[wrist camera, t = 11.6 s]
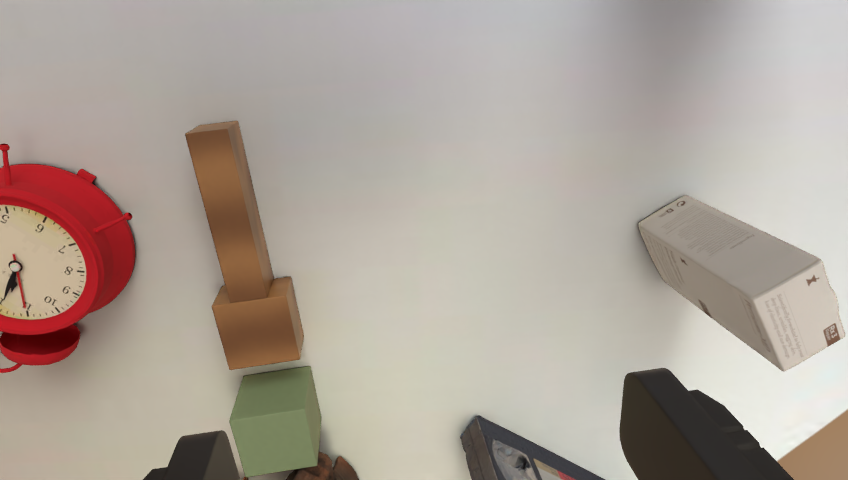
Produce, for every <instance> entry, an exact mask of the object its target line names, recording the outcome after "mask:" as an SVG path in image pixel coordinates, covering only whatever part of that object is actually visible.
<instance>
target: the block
mask: <svg viewBox="0 0 848 480" xmlns="http://www.w3.org/2000/svg"><path fill="white" fill-rule="evenodd" d="M229 422H230V425H231V429H232V432H233V436H234V439H235V442H236V446H237V449H238V453H239V456H240V459H241V463H242V466H243V470H244V473H245V477H251V476H257V475H263V474H270V473H276V472H282V471H288V470H294V469H300V468H306V467H312V466H317V463H318V451H319V440H320V429H321V414H320V409H319V404H318V400H317V395H316V390H315V385H314V380H313V376H312V371H311V367H310V366H307V367H300V368H294V369H287V370H280V371H274V372H267V373H260V374H253V375H247V376H244V377H243V380H242V383H241V386H240V389H239V392H238V395H237V398H236V402H235V405H234V408H233V411H232V414H231V417H230V420H229Z"/></svg>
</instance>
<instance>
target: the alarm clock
mask: <svg viewBox="0 0 848 480" xmlns="http://www.w3.org/2000/svg"><path fill="white" fill-rule="evenodd" d="M0 150H2V151H3V162H4V166H3V168H0V331H2V332H3V333H2V335H1V337H0V349H1V352H2V354H3V355H5V356H6V357H7V358H8V359H9V360H11V361H13V362H16V363H18V364H16V365H15V366H13V367H11V368H6V369H0V373H5V372H11V371H14V370H16V369H18V368H19V367H20V366H21V365H22V364H24V365H49V364H52V363H55V362H59V361H61V360H63V359H65V358H66V357H68V356H69V355H70V354H71V353H72V352H73V351H74V350H75V349H76V347H77V345H78V342H79V339H80V331H79V329H78V328H77V326H75V325H73V324H74V323H76V322H78V321H79V320H81V319H82V318H83V317H85V316H86V315H87V314H88V313H91V312H94V311H96V310H98V309H100V308H102V307H104V306H105V305H107V304H108V303H110V302H111V301H112V300H113V299H115V298H116V297H117V295H118V294H119V293H120V292H121V291H122V290H123V289H124V287H125V286H126V284H127V283H128V281H129V279H130V277H131V274H132V272H133V268H134V263H135V245H134V240H133V235H132V233H131V230H130V227H129V225H128V223H127V221H126V220H130V219H131V218H132V215H131V214H130V213H125V214H124V215H123V214H122V212H121V211H120V209H119V208H118V207H117V206H116V204H115V203H114V202H113V201H112V200H111V199H110V198H109V197H108V196H107V195H106V194H105V193H104V192H103V191H101V190H100V189H99V188H98V187H96V186H95V185H94V184H92V182H93V180H94V179H95V178H96V176H94V175H92V174H90V173H88V172H87V171H85V170H83V169H80V170H79V171H78V173H77V175H76V174H73V173H71V172H68V171H66V170H63V169H60V168H56V167H52V166H47V165H39V164H18V165H11V166H9V162H8V153H7V150H9V146H8V144H0Z"/></svg>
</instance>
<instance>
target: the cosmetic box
mask: <svg viewBox="0 0 848 480" xmlns="http://www.w3.org/2000/svg"><path fill="white" fill-rule="evenodd" d="M639 230H640V233H641V235H642V238H643V240H644V242H645V245H646V247H647V249H648V252H649V254H650V256H651V258H652V260H653V262H654V264H655V266H656V268H657V270H658V272H659V274H660V275H661V277H662V279H663V280H664V281H665V283H667V284H668V285H669V286H671V287H672V288H673V289H675V290H676V291H677V292H678V293H680V294H681V295H682V296H683V297H685V298H686V299H688V300H689V301H690V302H692V303H693V304H694V305H695V306H697V307H698V308H699V309H701V310H702V311H703V312H705V313H706V314H707V315H709V316H710V317H711V318H712V319H714V320H715V321H717V322H718V323H719V324H720V325H722V326H723V327H724V328H726V329H727V330H728V331H730V332H731V333H732V334H734V335H735V336H736V337H738V338H739V339H740V340H742V341H743V342H744V343H746V344H747V345H748V346H750V347H751V348H752V349H754V350H755V351H757V352H758V353H759V354H761V355H762V356H763V357H765V358H766V359H767V360H769V361H770V362H771V363H772V364H774V365H775V366H776V367H778V368H779V369H780V370H781V371H786V370H788V369H790V368H792V367H794V366H796V365H798V364H799V363H801V362H803V361H805V360H806V359H808V358H810V357H811V356H813V355H815V354H816V353H818V352H820V351H822V350H823V349H825V348H826V347H828V346H830V345H832V344H833V343H835V342H837V341H838V340H840V339H842V338H844V337H845V332H844V329H843V326H842V323H841V320H840V317H839V307H838V301H837V297H836V295H835V293H834V291H833V289H832V288H831V287H830V284H829V281H828V278H827V275H826V272H825V268H824V265H823V262H822V260H821V259H820V258H818V257H816V256H814V255H812V254H810V253H807V252H805V251H803V250H801V249H799V248H797V247H795V246H793V245H791V244H789V243H786V242H784V241H782V240H780V239H778V238H776V237H774V236H772V235H769V234H767V233H765V232H763V231H761V230H759V229H757V228H755V227H753V226H750V225H748V224H746V223H744V222H742V221H740V220H738V219H736V218H734V217H732V216H729V215H727V214H725V213H723V212H721V211H719V210H717V209H715V208H713V207H711V206H709V205H706V204H704V203H702V202H700V201H698V200H696V199H694V198H692V197H689V196H687V195H685V196H683V197H681V198H679V199H678V200H676V201H674V202H672V203H670V204H668V205H667V206H665V207H664V208H662V209H660V210H659V211H657V212H655V213H653V214H652V215H650V216H649V217H647V218H645V219H644V220H642V221H641V222H639Z"/></svg>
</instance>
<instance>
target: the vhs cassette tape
mask: <svg viewBox="0 0 848 480" xmlns="http://www.w3.org/2000/svg"><path fill="white" fill-rule="evenodd" d="M460 438H461V441H462V445H463V449H464V451H465V452H466V460H467V464H468V468H469V471H470V475H471V478H472V480H605V479H603V478H601V477H599V476H597V475H595V474H593V473H591V472H589V471H587V470H585V469H583V468H581V467H579V466H577V465H575V464H573V463H572V462H570V461H568V460H566V459H564V458H562V457H560V456H558V455H556V454H554V453H552V452H550V451H548V450H546V449H544V448H542V447H540V446H539V445H537V444H535V443H533V442H531V441H529V440H527V439H525V438H523V437H521V436H519V435H517V434H515V433H513V432H511V431H509V430H507V429H505V428H503V427H501V426H499V425H497V424H495V423H492V422H490V421H488V420H486V419H484V418H482V417H481V416H477V417H476V418H475V419H474V420H473V421H472V422H471V423H470V424H469V425H468V427H467V428H466V430H465V432H464V434H461V437H460Z"/></svg>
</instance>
